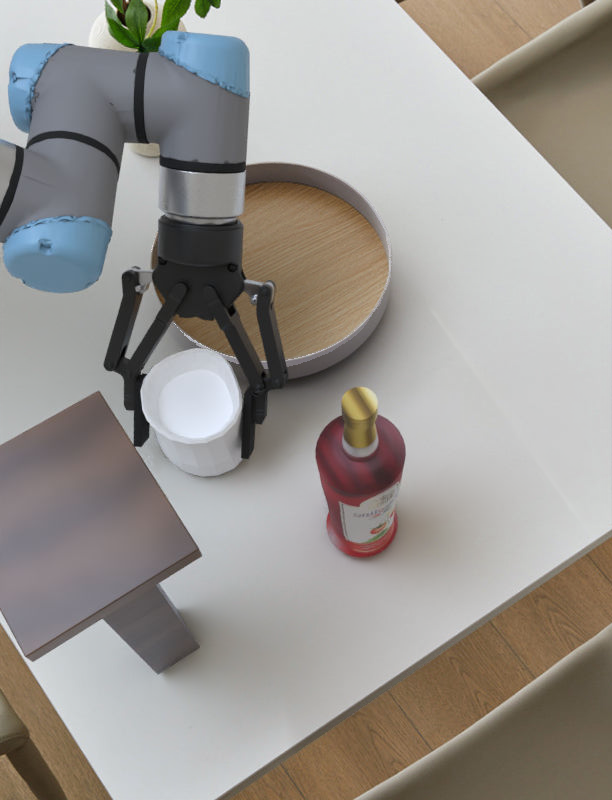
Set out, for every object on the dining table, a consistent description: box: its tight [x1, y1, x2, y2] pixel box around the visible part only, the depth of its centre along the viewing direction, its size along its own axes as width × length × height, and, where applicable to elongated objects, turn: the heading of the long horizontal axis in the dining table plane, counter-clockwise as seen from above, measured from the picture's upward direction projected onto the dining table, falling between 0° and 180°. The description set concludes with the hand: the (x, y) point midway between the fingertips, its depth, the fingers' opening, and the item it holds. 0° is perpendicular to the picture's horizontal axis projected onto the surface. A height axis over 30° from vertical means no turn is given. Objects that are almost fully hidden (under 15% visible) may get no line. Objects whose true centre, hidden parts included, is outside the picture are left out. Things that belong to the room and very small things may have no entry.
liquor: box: [314, 386, 407, 558], centre depth 86 cm, size 7×7×28 cm
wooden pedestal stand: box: [0, 390, 203, 675], centre depth 78 cm, size 13×12×35 cm
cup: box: [140, 347, 244, 478], centre depth 99 cm, size 10×10×10 cm
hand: (194, 447), depth 98 cm, fingers closed on cup, 10 cm apart
